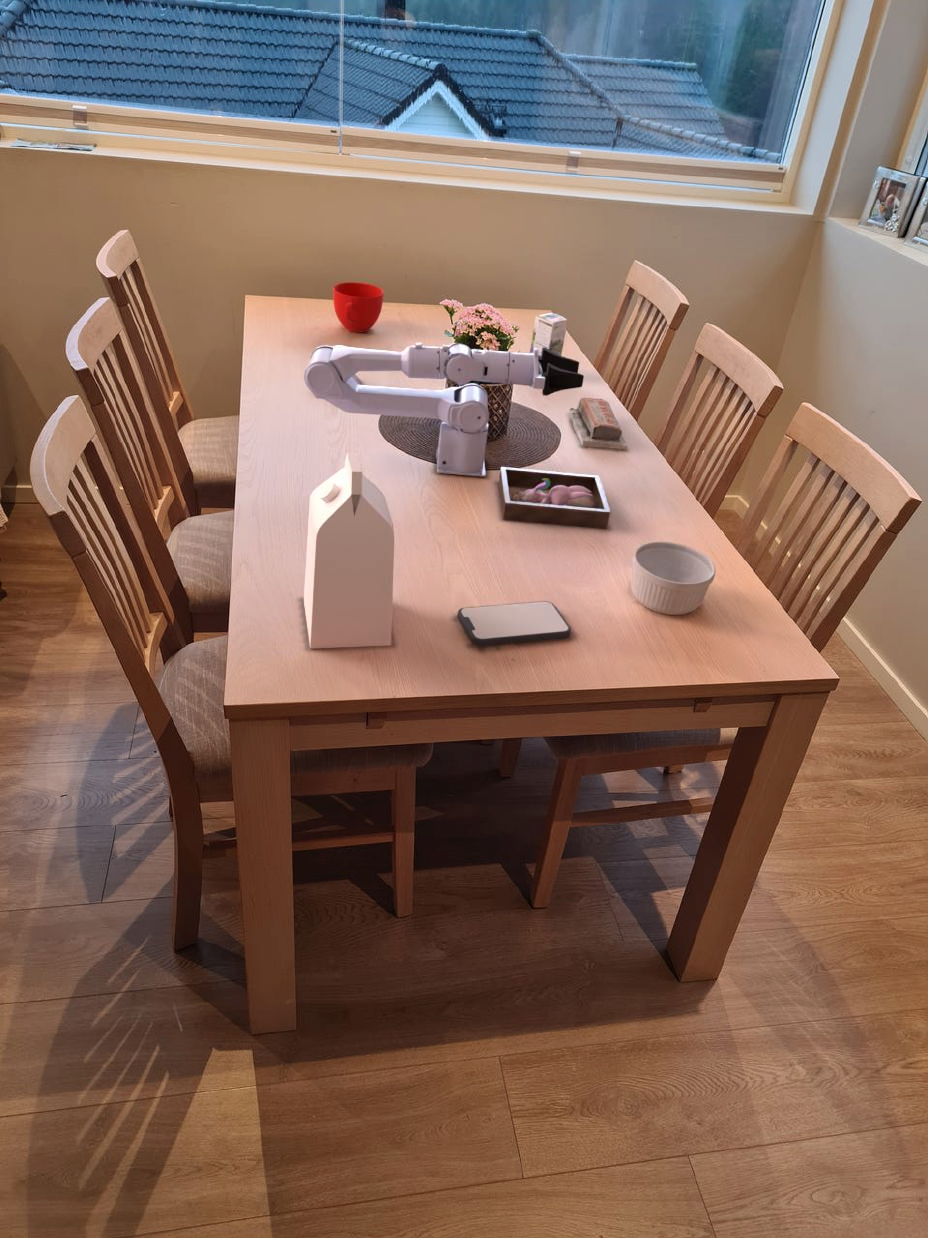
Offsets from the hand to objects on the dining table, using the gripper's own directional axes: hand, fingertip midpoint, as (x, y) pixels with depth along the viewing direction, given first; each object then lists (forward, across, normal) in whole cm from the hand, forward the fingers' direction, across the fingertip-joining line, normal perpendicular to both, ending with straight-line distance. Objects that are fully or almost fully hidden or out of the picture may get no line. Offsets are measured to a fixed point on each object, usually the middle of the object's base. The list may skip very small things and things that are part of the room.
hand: (580, 374), depth 175 cm
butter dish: (+10, +25, +21) cm, 34 cm away
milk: (-38, -56, +22) cm, 71 cm away
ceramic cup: (-49, +76, +18) cm, 92 cm away
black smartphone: (-12, -53, +23) cm, 59 cm away
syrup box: (0, +58, +20) cm, 61 cm away
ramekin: (+13, -41, +23) cm, 48 cm away
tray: (-4, -12, +22) cm, 25 cm away
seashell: (-49, +37, +17) cm, 64 cm away
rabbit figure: (-4, -12, +22) cm, 25 cm away
